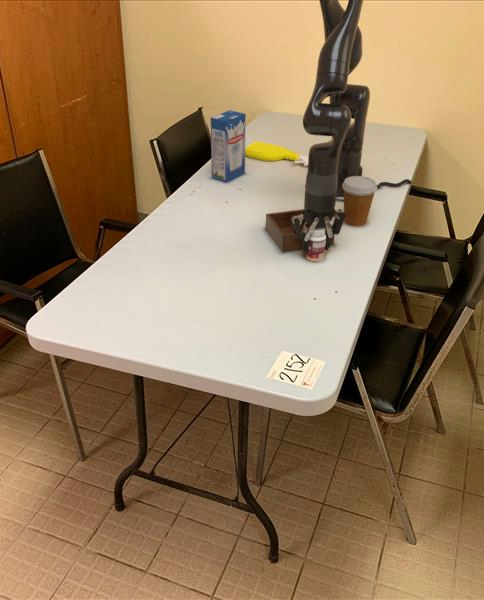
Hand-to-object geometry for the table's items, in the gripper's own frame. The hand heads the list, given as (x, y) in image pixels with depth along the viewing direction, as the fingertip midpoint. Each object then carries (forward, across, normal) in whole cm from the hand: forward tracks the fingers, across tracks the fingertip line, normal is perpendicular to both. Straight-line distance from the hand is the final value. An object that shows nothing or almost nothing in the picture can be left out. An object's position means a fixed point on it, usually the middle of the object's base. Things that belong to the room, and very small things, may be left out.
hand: (315, 250), depth 153 cm
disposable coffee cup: (+2, +19, +16) cm, 25 cm away
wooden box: (+2, 0, +12) cm, 12 cm away
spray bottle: (+2, +15, +69) cm, 71 cm away
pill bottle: (+2, 0, 0) cm, 2 cm away
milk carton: (+2, -7, +58) cm, 59 cm away
